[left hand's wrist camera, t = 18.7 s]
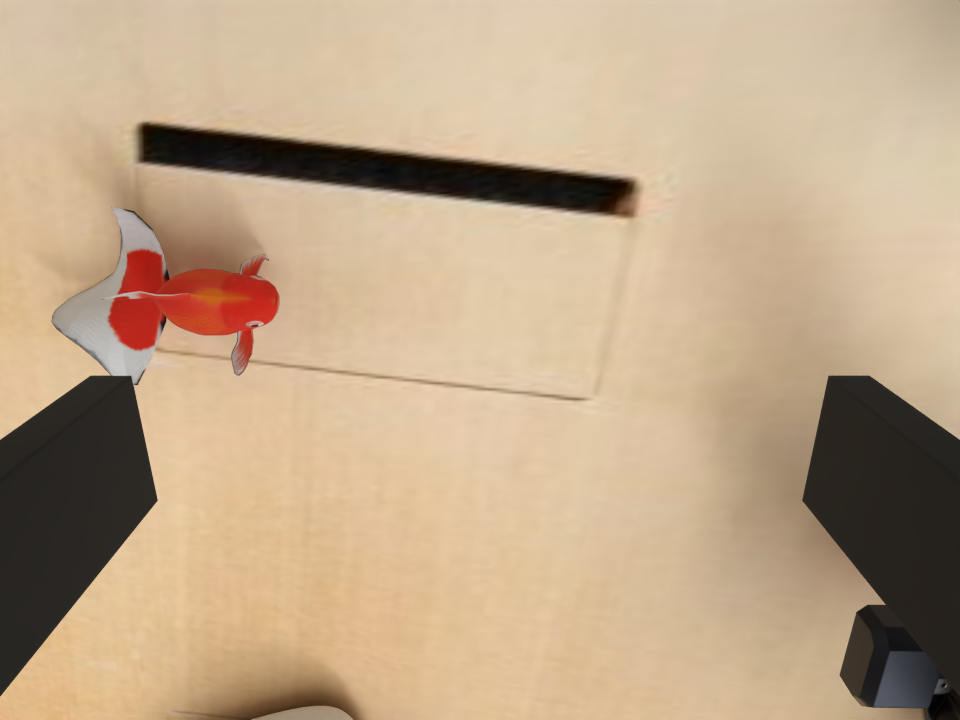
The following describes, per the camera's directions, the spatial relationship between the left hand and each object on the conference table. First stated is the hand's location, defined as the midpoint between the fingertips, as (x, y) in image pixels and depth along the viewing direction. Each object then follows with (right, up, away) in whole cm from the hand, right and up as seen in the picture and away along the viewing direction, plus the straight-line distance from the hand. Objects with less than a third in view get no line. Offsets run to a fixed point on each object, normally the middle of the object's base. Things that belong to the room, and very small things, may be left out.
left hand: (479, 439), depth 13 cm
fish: (-20, +6, +33) cm, 39 cm away
